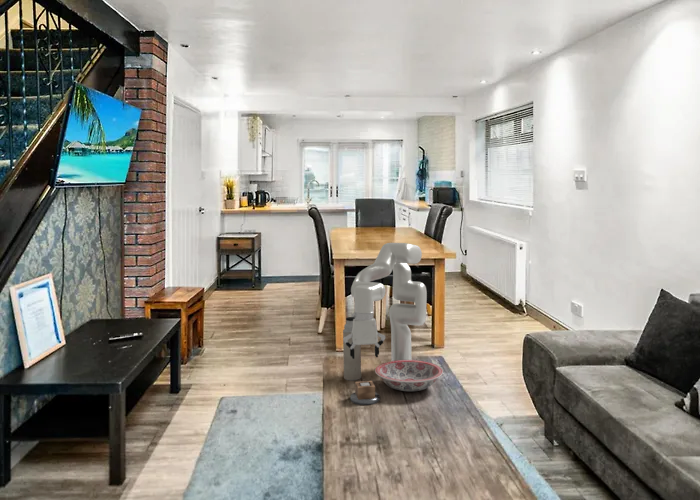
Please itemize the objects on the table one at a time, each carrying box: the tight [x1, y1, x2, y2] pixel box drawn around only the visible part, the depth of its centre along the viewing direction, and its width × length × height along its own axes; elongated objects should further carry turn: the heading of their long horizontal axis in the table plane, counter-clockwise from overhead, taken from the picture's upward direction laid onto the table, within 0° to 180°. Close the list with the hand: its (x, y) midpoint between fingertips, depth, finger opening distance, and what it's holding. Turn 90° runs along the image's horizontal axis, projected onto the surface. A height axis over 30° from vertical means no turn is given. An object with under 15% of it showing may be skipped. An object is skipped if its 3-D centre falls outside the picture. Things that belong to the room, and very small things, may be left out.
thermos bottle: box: [342, 316, 362, 381], centre depth 257 cm, size 8×8×28 cm
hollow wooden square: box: [354, 380, 376, 400], centre depth 231 cm, size 7×7×5 cm
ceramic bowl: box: [374, 359, 444, 392], centre depth 244 cm, size 29×29×8 cm
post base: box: [349, 382, 381, 406], centre depth 231 cm, size 12×12×6 cm
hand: (364, 357), depth 229 cm, fingers open, 9 cm apart
